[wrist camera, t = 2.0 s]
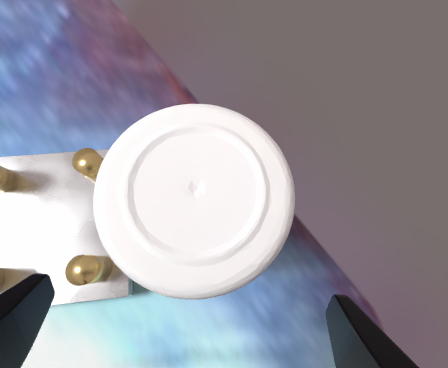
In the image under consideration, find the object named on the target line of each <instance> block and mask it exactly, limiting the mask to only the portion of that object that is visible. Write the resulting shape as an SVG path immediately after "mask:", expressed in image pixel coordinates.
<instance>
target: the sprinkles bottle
mask: <svg viewBox="0 0 448 368" xmlns="http://www.w3.org/2000/svg"><path fill="white" fill-rule="evenodd" d="M294 192H295V191H294V184H293V178H292V175H291V172H290V168H289V166H288V164H287V161H286V159H285V157H284V155H283V153H282V151H281V150H280V148H279V146H278V145H277V144H276V143H275V141H274V140H273V139H272V138H271V137H270V136H269V134H267V133H266V132H265V131H264V130H263V129H262V128H261V127H260V126H259V125H257V124H256V123H254V122H253V121H251V120H250V119H248V118H247V117H245V116H243V115H241V114H239V113H237V112H235V111H232V110H229V109H226V108H223V107H219V106H214V105H207V104H184V105H177V106H173V107H169V108H165V109H162V110H159V111H156V112H154V113H152V114H149V115H148V116H146V117H144V118H143V119H141V120H139V121H138V122H136V123H135V124H133V125H132V126H131V127H129V128H128V129H127V130H126V131H125V132H124V133H123V134H122V135H121V136H120V137H119V138H118V139H117V140H116V142H115V143H114V144H113V145H112V147H111V148H110V150H109V151H108V153H107V154H106V156H105V158H104V160H103V162H102V164H101V166H100V169H99V172H98V175H97V178H96V182H95V188H94V195H93V210H94V218H95V223H96V228H97V231H98V234H99V237H100V240H101V242H102V244H103V246H104V248H105V250H106V252H107V253H108V255H109V256H110V257H111V259H112V260H113V262H114V263H115V264H116V265H117V266H118V267H119V268H120V269H121V270H122V271H123V273H125V274H126V275H127V276H128V277H129V278H131V279H132V280H133V281H135V282H136V283H138V284H139V285H141V286H143V287H144V288H146V289H149V290H151V291H153V292H155V293H157V294H161V295H164V296H167V297H172V298H179V299H206V298H212V297H217V296H221V295H225V294H228V293H230V292H233V291H235V290H237V289H239V288H241V287H243V286H245V285H247V284H248V283H250V282H251V281H253V280H254V279H255V278H257V277H258V276H259V275H260V274H261V273H262V272H263V271H265V270H266V269H267V268H268V267H269V265H270V264H271V263H272V262H273V261H274V259H275V258H276V257H277V255H278V254H279V252H280V251H281V249H282V247H283V245H284V243H285V241H286V239H287V237H288V235H289V232H290V229H291V225H292V222H293V217H294V208H295V193H294Z"/></svg>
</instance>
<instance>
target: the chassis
mask: <svg viewBox="0 0 448 368" xmlns="http://www.w3.org/2000/svg"><path fill="white" fill-rule="evenodd" d="M109 150H110V149H109ZM109 150H93V149H90V148H84V149H81V150H79V151H78V152H67V153H53V154H39V155H25V156H12V157H0V294H1V293H3V292H4V291H6V290H7V289H9V288H11V287H12V286H14V285H15V284H17V283H19V282H20V281H22V280H23V279H25V278H27V277H28V276H30V275H31V274H34V273H44V274H48V275H49V276H50V278H51V281H52V284H53V287H54V290H55V296H54V299H53V302H52V304H51V305H57V304H66V303H74V302H83V301H91V300H100V299H109V298H117V297H126V296H130V295H132V294H133V280H132V279H131V278H129V277H128V276H127V275H126V274H125V273H123V271H122V270H121V269H120V268H119V267H118V266H117V265H116V264H115V263H114V262H113V260H112V259H111V257H110V256H109V255H108V253H107V252H106V250H105V248H104V246H103V244H102V242H101V240H100V237H99V234H98V231H97V228H96V223H95V218H94V210H93V195H94V188H95V182H96V178H97V175H98V172H99V169H100V166H101V164H102V162H103V160H104V158H105V156H106V154H107V153H108V151H109Z"/></svg>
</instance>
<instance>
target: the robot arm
mask: <svg viewBox="0 0 448 368" xmlns="http://www.w3.org/2000/svg"><path fill="white" fill-rule="evenodd" d="M54 296H55V290H54V287H53V284H52V281H51V278H50V276H49V275H48V274H44V273H34V274H31V275H30V276H28V277H27V278H25V279H23V280H22V281H20V282H19V283H17V284H15V285H14V286H12V287H11V288H9V289H7V290H6V291H4V292H3V293H1V294H0V368H21V366H22V364H23V362H24V361H25V359H26V357H27V355H28V353H29V351H30V350H31V348H32V346H33V343H34V341H35V339H36V337H37V335H38V333H39V330H40V328H41V326H42V324H43V322H44V319H45V317H46V315H47V313H48V311H49V308H50V306H51V304H52V302H53V299H54ZM326 320H327V325H328V330H329V335H330V340H331V345H332V350H333V355H334V360H335V365H336V368H419V367H418V366H417V365H416V364H415V363H414V362H413V361H412V360H411V359H410V358H409V357H408V356H407V355H406V354H405V353H404V352H403V351H402V350H401V349H400V348H399V347H398V346H397V345H396V344H395V343H394V342H393V341H392V340H391V339H390V338H389V337H388V336H387V335H386V334H385V333H384V332H383V331H382V330H381V329H380V328H379V327H378V326H377V325H376V324H375V323H374V322H373V321H372V320H371V319H370V318H369V317H368V316H367V315H366V314H365V313H364V312H363V311H362V310H361V309H360V308H359V307H358V306H357V305H356V304H355V303H354V302H353V301H352V300H351V299H350V298H349V297H348V296H346V295H338V294H335V295H333V296H332V298H331V300H330V303H329V305H328V307H327V310H326Z"/></svg>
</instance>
